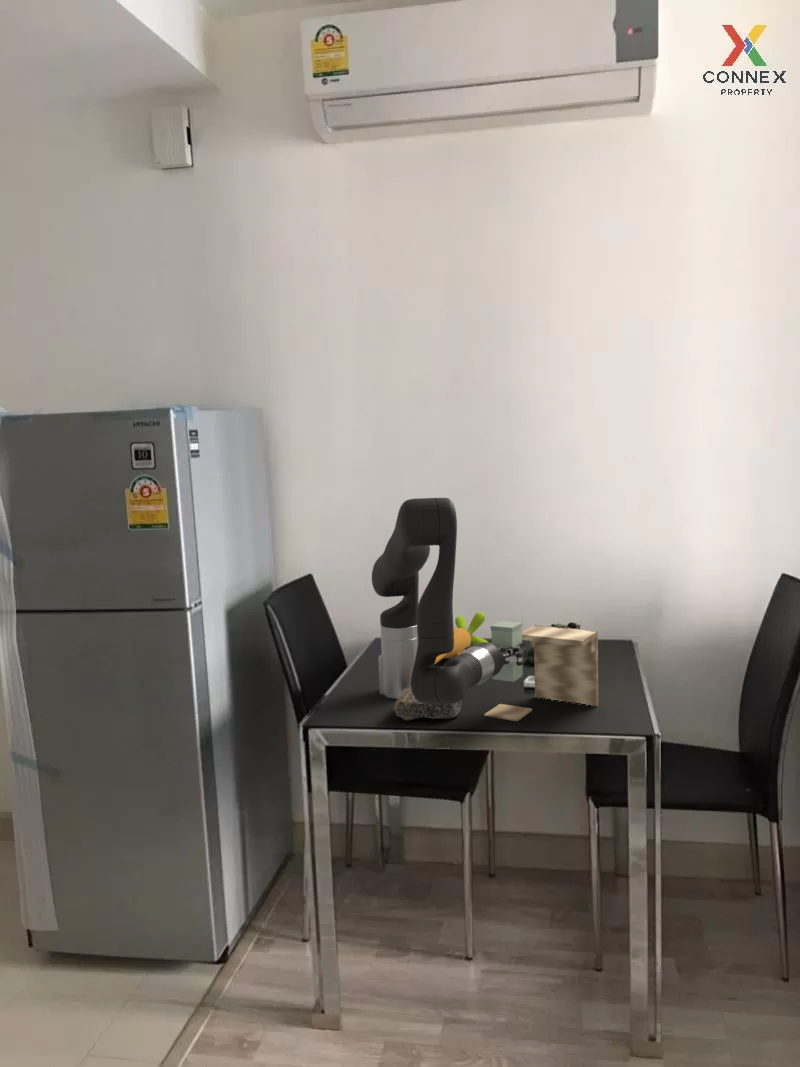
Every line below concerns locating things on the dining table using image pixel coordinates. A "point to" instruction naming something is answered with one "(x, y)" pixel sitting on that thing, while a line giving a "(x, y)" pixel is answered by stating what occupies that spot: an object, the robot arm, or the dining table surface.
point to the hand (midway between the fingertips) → (512, 646)
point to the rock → (423, 708)
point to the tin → (503, 637)
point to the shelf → (565, 663)
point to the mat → (508, 712)
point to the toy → (464, 635)
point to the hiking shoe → (571, 625)
